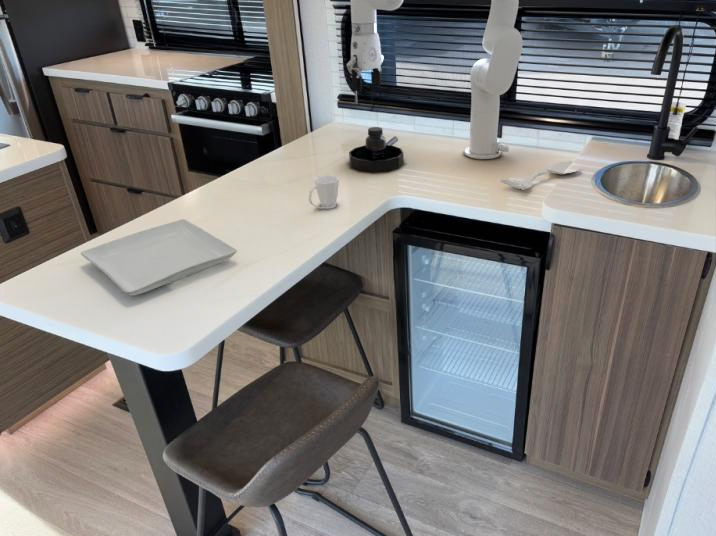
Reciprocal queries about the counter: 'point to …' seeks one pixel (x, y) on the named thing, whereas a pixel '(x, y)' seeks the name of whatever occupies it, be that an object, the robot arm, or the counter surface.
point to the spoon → (525, 184)
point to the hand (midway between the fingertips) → (366, 88)
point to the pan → (391, 163)
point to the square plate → (158, 256)
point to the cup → (326, 191)
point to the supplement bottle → (375, 145)
